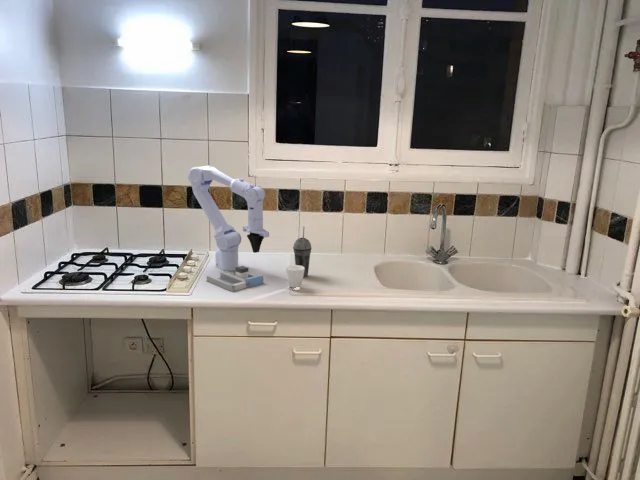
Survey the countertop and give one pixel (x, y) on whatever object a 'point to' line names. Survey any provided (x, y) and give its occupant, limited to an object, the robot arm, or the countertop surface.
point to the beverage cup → (302, 253)
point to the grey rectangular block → (242, 272)
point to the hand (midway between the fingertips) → (256, 252)
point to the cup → (295, 275)
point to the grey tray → (235, 281)
